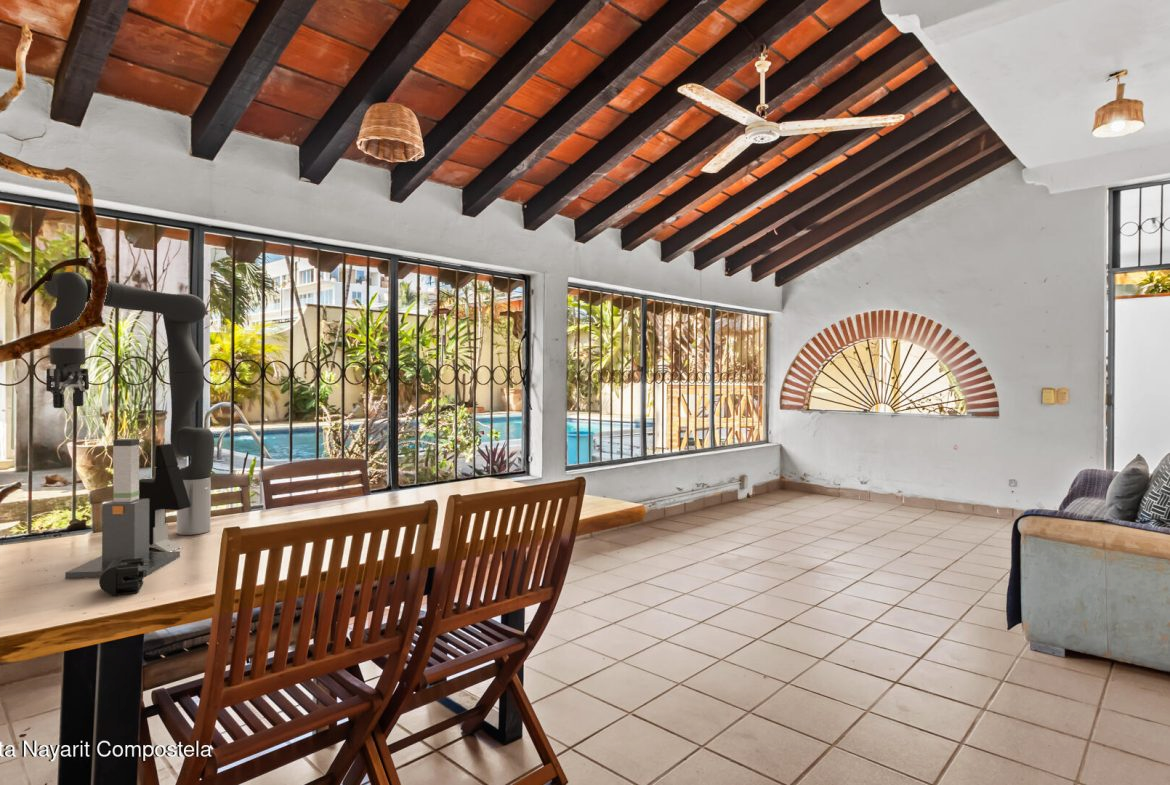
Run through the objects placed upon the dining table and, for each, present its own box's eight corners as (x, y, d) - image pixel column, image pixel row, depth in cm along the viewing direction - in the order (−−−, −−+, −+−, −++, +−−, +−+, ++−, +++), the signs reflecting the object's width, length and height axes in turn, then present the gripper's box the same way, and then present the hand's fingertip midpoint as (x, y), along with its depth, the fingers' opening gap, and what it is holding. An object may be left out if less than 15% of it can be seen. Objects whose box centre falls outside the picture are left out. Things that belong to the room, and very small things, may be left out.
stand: (107, 558, 175) (107, 495, 175) (179, 556, 178) (180, 494, 178) (65, 578, 157) (65, 508, 157) (146, 576, 160) (146, 507, 160)
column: (121, 534, 169) (122, 438, 169) (139, 534, 170) (139, 438, 170) (113, 538, 165) (113, 440, 165) (130, 538, 166) (131, 440, 166)
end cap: (107, 586, 152) (107, 557, 152) (143, 582, 155) (144, 554, 155) (98, 599, 143) (98, 568, 143) (137, 594, 146) (137, 564, 146)
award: (191, 548, 187) (192, 444, 187) (178, 552, 182) (178, 445, 182) (142, 546, 189) (143, 443, 188) (128, 550, 184) (128, 444, 183)
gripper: (66, 346, 168) (68, 408, 169) (98, 347, 182) (99, 405, 183) (34, 346, 167) (35, 408, 168) (68, 347, 181) (69, 405, 182)
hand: (68, 407), depth 175 cm, fingers open, 8 cm apart
